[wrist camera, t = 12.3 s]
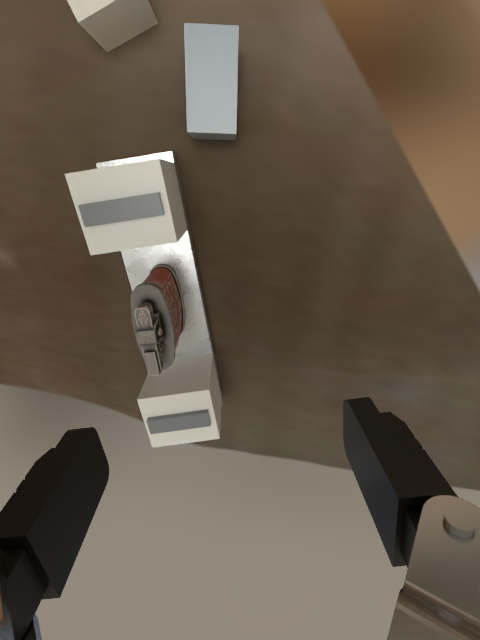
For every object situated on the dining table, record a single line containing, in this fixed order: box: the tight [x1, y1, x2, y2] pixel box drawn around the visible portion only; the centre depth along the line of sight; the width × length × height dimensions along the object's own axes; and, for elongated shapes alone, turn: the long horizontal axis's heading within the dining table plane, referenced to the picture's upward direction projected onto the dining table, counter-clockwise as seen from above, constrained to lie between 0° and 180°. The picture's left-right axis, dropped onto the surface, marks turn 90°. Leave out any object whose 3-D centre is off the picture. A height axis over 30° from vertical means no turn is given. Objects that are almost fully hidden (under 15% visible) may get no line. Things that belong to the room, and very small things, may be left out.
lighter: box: [131, 264, 185, 376], centre depth 31 cm, size 8×3×10 cm, turn 5°
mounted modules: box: [65, 159, 221, 447], centre depth 32 cm, size 7×26×8 cm, turn 8°
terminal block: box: [184, 23, 239, 140], centre depth 28 cm, size 4×7×5 cm, turn 178°
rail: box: [96, 151, 223, 404], centre depth 37 cm, size 7×28×2 cm, turn 8°
